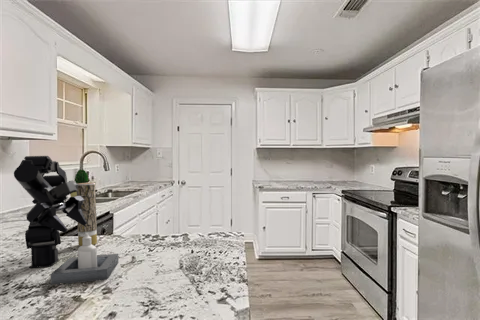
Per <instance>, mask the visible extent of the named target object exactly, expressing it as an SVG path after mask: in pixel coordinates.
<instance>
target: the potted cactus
mask: <svg viewBox="0 0 480 320" xmlns="http://www.w3.org/2000/svg"><path fill="white" fill-rule="evenodd" d="M75 173H76V174H75V175H74V176H73V177H74V180H73V181H74V182H75V183H76V184H79V183H89V180H90V178H89V173H88V172H87V171H86V170H85V169H78V170H77V171H75ZM69 195H70V197H74V196H77V191H76V192H73V193H71V194H69Z"/></svg>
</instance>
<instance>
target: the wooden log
mask: <svg viewBox="0 0 480 320" xmlns="http://www.w3.org/2000/svg"><path fill="white" fill-rule="evenodd" d="M96 195H97V194H96V183H95V182H88V183H79V184H78V189H77V196H81V197H82V198H83V199H84V201H83V204H82V206H81V210H82V213H83V215H84V217H85V220H86V222H87V224H86V225H82V224H80V223H78V222H77V238H78V239H77V241H78V242H77V243H78V246H79V247H80V246H82V238H83V237H85V233H88V235H89V236H90V237H91V244H92V245H94V246H95V245H96V244H97V243H98V239H97V238H98V231H97V228H98V227H97V225H98V223H97V203H96V202H97V200H96V197H97V196H96Z"/></svg>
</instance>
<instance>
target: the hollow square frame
mask: <svg viewBox="0 0 480 320" xmlns="http://www.w3.org/2000/svg"><path fill="white" fill-rule="evenodd" d="M118 264H119V253H109V254H97V267H92V268H81V269H78V256H73V257H69V258H68V259H67V260H66V261H64V263H62V264H61V265H60V266H59V267H57V268H56V269H55V270H54V271H53V272H51V273H50V286H53V285H52V284H57V285H61V284H60V283H68V284H76V282H78V283H86V282H87V281H88V282H95V281H96V280H98V281H107V279H109V278H110V276H111V275H112V273H113V272H114V270H115V268H116V267H117V265H118ZM73 282H74V283H73ZM96 282H97V281H96Z"/></svg>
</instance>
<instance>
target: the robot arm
mask: <svg viewBox="0 0 480 320" xmlns="http://www.w3.org/2000/svg"><path fill="white" fill-rule="evenodd" d="M66 172H67V171H65V169H62V167H61V166H60V164H59V162H58V161H56V160H54V161H53V160H52V159H51V157H50V156H49V155H28V156H24V157H23V159H22V160H21V161H20V164H19V165H18V167H16V168H15V170H14V171H13V176H14V177H13V178H14V179H15V180H16V181H17V182H18V183H19V185H21V187H22V188H23V190H24V191H26V193H28V194H29V196H31V197H32V199H33V200H32V204H34V205H33V207H32V208H31V209H30V210H29V211H28V212H27V213H26V214H25V216H26V220H27V221H28V223H29V225H28V226H27V229H26V231H25V234H24V237H25V239H24V240H25V245H26V249H27V250H29V249H31V250H30V252H31V254H30V255H31V265H29V266H28V267H29V269H35V268H45V267H47V268H48V267H51V266H53V265H54V264H55V263H57V262H58V261H59V260H60V259H59V249H58V247H57V246H58V245H61V244H62V241H61V235H60V232H61V233H67V232H68V228H67V226H66V225H65V223H63V221H62V219H60V217H59V216H58V215H57V212H60V211H61V212H63V213H64V214H66V217H68V218H70V219H72V220H73V221H74V222H76V223H77V224H78V223H80V224H82V225H86V224H87V222H86V220H85V217H84V215H83V213H82V210H81V206H82V204H83V201H84V199H83V198H82V197H81V196H74V197H71V196H70V197H68V196H69V195H70V194H71V193H73V192H76V191H77V189H78V184H76V182H75V181H74V180H68V178H67V173H66ZM50 173H56V174H55V175H54V174H53V175H52V174H51V175H48V174H50ZM45 174H47V175H45Z"/></svg>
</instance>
